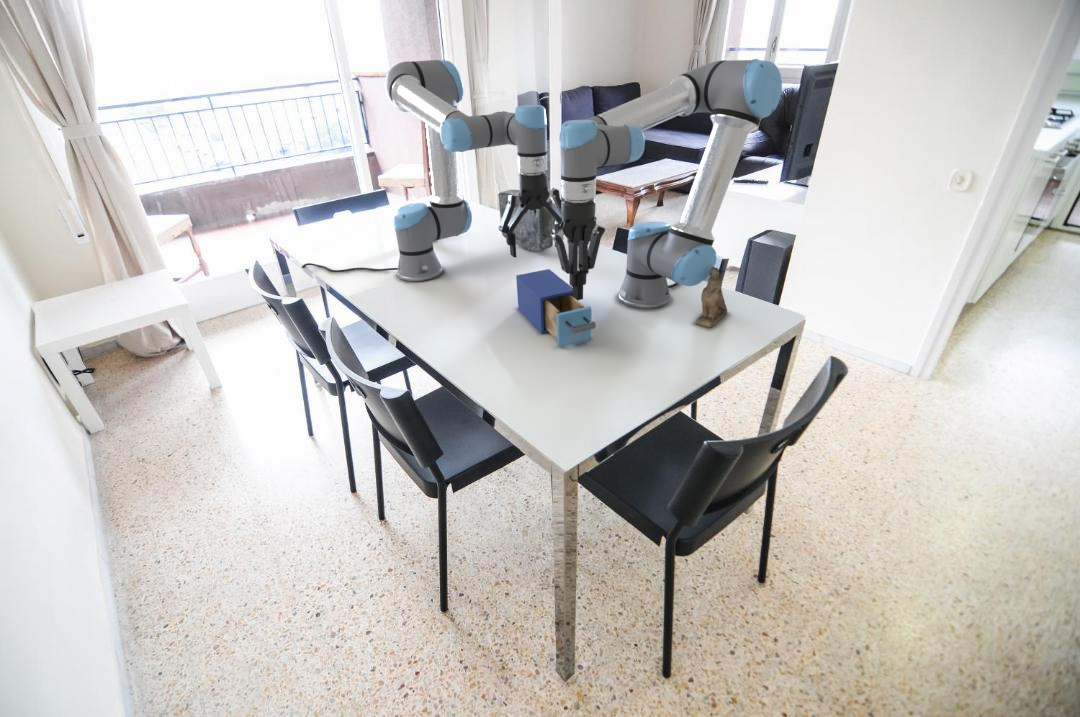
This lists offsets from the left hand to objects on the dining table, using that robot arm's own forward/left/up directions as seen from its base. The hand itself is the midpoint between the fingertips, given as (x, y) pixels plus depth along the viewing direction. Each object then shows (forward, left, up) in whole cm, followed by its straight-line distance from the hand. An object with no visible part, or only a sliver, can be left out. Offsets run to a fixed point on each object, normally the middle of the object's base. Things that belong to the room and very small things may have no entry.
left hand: (536, 252), depth 139 cm
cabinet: (+4, -4, -18) cm, 19 cm away
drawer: (+13, -13, -17) cm, 25 cm away
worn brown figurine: (+49, +9, -18) cm, 53 cm away
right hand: (+18, -18, -4) cm, 26 cm away
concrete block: (-24, +51, -18) cm, 59 cm away
